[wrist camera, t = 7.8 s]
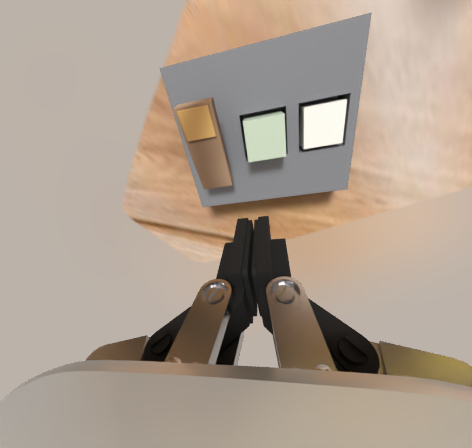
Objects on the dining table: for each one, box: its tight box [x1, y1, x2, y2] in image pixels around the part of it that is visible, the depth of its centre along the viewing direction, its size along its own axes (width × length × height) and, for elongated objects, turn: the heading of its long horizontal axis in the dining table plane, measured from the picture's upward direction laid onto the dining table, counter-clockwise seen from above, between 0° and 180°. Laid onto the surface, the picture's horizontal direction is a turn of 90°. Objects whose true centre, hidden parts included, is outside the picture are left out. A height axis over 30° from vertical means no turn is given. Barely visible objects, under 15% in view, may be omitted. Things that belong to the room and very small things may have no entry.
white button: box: [299, 99, 347, 149], centre depth 19 cm, size 4×4×3 cm
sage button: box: [243, 111, 286, 162], centre depth 19 cm, size 4×4×3 cm
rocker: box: [173, 97, 233, 189], centre depth 19 cm, size 3×8×1 cm, turn 10°
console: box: [160, 13, 371, 207], centre depth 21 cm, size 17×14×5 cm
